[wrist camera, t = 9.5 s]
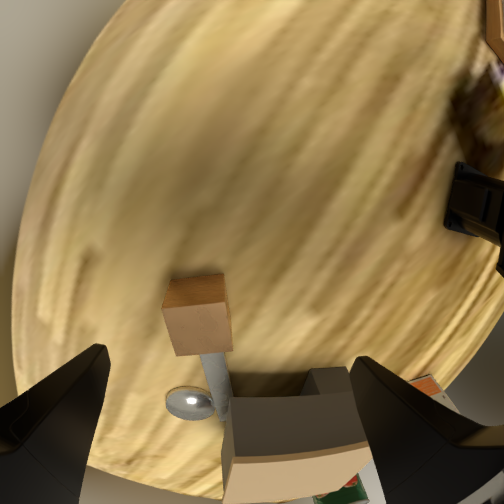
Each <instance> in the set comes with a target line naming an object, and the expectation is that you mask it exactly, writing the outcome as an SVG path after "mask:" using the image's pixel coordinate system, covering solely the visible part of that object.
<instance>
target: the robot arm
mask: <svg viewBox="0 0 504 504" xmlns="http://www.w3.org/2000/svg"><path fill="white" fill-rule="evenodd" d="M460 166H461V168H460ZM448 224H449V225H448ZM444 227H445V228H447V229H449V230H453V231H457V232H460V233H464V234H468V235H471V236H475V237H481V238H483V239H485V240H487V241H489V242H491V243H493V244H495V245H497V246H499V247H501V248H500V254H499V259H498V263H497V265H496V270H497V271H498V272H499V273H500V274H501V275H502V277H503V278H504V181H502V180H498V179H495V178H491V177H488V176H486V175H485V174H483V173H481V172H480V171H478V170H476V169H474V168H473V167H471V166H469V165H467V164H465V163H463V162H457V164H456V169H455V175H454V180H453V186H452V191H451V196H450V200H449V205H448V209H447V213H446V218H445V221H444ZM110 367H111V363H110V358H109V354H108V350H107V347H106V346H105V345H103V344H97V343H95V344H93V345H92V346H90V347H89V348H87V349H86V350H84V351H83V352H82V353H80V354H79V355H77V356H76V357H74V358H73V359H71V360H70V361H69V362H67V363H66V364H64V365H63V366H61V367H60V368H58V369H57V370H56V371H54V372H53V373H51V374H50V375H48V376H47V377H46V378H44V379H43V380H41V381H40V382H38V383H37V384H36V385H34V386H33V387H31V388H30V389H29V391H28V390H27V391H25V392H24V393H23V394H21V395H20V396H18V397H17V398H15V399H14V400H12V401H11V402H9V403H7V404H6V405H4V406H2V407H1V408H0V504H79V497H80V492H81V487H82V482H83V478H84V473H85V469H86V464H87V460H88V456H89V452H90V448H91V444H92V441H93V437H94V433H95V430H96V426H97V423H98V419H99V416H100V413H101V410H102V406H103V402H104V397H105V392H106V387H107V382H108V377H109V372H110ZM349 377H350V382H351V386H352V391H353V395H354V399H355V404H356V408H357V411H358V415H359V417H360V420H361V423H362V426H363V429H364V432H365V435H366V438H367V441H368V444H369V447H370V450H371V454H372V457H373V460H374V463H375V466H376V469H377V473H378V476H379V479H380V482H381V486H382V489H383V493H384V495H385V496H384V497H385V500H386V504H504V425H499V426H484V425H481V424H478V423H476V422H474V421H472V420H470V419H468V418H466V417H464V416H462V415H460V414H458V413H457V412H455V411H453V410H451V409H449V408H447V407H446V406H444V405H442V404H441V403H439V402H438V401H436V400H433V398H431V397H430V396H428V395H427V394H425V393H423V392H422V391H420V390H419V389H417V388H416V387H414V386H413V385H411V384H409V383H408V382H406V381H405V380H403V379H402V378H400V377H399V376H397V375H396V374H394V373H393V372H391V371H389V370H388V369H386V368H385V367H383V366H382V365H380V364H379V363H377V362H376V361H374V360H373V359H371V358H370V357H368V356H359V357H357V358H356V359H355V361H354V364H353V366H352V368H351V370H350V374H349Z"/></svg>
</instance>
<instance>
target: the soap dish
mask: <svg viewBox="0 0 504 504" xmlns="http://www.w3.org/2000/svg"><path fill="white" fill-rule="evenodd" d="M486 14H487V17H486V18H487V19H486V21H487V22H486V42H487V43H488V44H489V45H490V47H491V48H492V49H493V50H494V52H495V53H496V54H497V56H498V57H499V58H500V60H501V61H502V62H503V64H504V0H486Z"/></svg>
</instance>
